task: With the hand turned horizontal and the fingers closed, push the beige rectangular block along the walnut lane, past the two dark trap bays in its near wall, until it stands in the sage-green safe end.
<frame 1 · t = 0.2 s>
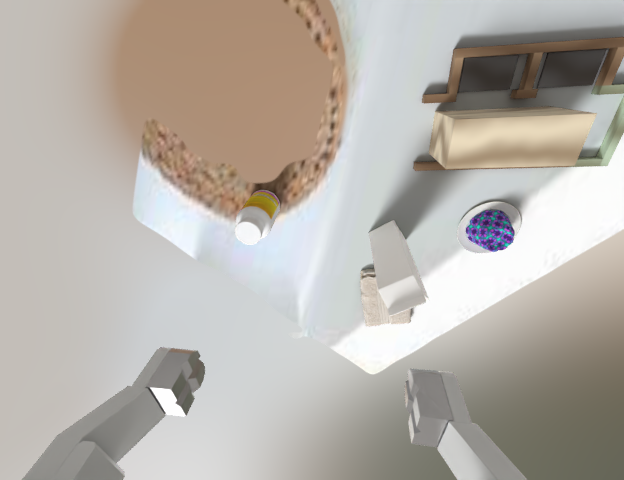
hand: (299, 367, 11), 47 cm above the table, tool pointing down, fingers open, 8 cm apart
supplement bottle: (265, 203, 59), on the table
washcloth: (385, 293, 70), on the table
pudding: (486, 226, 58), on the table
beige rectangular block: (485, 130, 48), resting in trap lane
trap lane: (510, 130, 48), on the table
milk: (387, 235, 61), on the table
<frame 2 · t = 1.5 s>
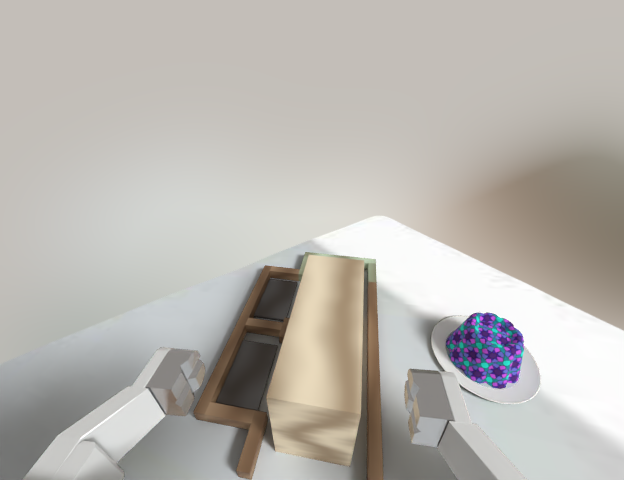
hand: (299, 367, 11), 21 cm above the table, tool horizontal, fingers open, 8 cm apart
pudding: (479, 358, 35), on the table
beige rectangular block: (324, 369, 33), resting in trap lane
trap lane: (328, 340, 36), on the table
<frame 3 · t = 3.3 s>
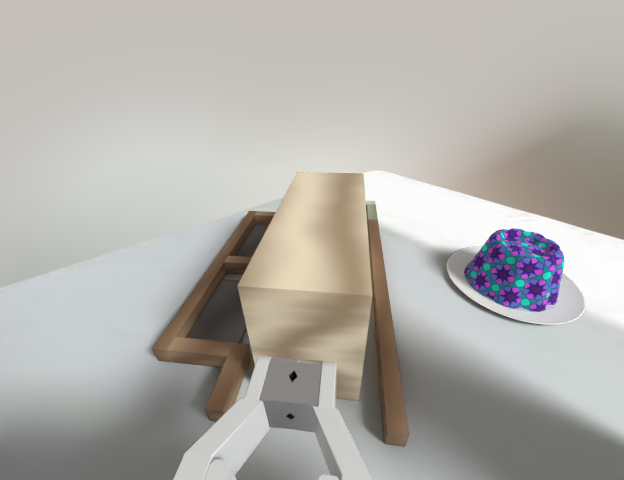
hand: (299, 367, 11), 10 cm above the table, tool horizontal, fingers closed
pudding: (506, 285, 29), on the table
beige rectangular block: (321, 303, 27), resting in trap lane
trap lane: (325, 275, 30), on the table
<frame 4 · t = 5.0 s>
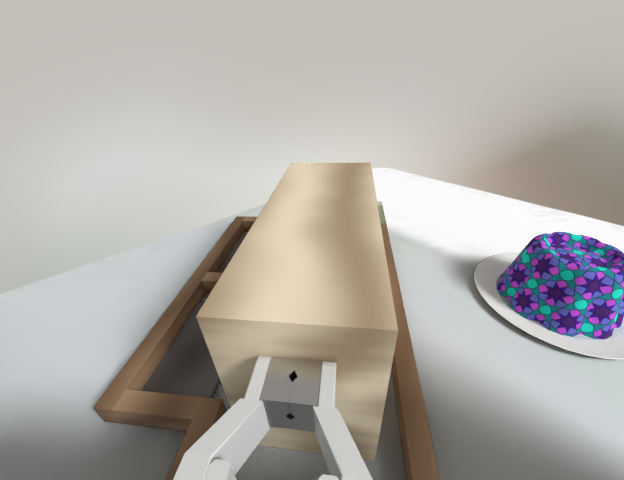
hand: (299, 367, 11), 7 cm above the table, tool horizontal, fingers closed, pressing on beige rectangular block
pudding: (551, 302, 23), on the table
beige rectangular block: (323, 320, 22), resting in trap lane, touching gripper
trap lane: (325, 294, 25), on the table
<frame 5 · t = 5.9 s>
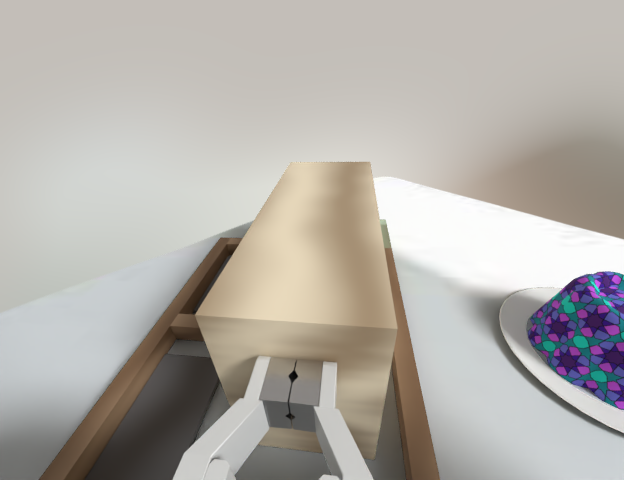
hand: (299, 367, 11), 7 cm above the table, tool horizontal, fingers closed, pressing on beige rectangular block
pudding: (596, 357, 19), on the table
beige rectangular block: (322, 319, 22), resting in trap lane, touching gripper
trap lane: (319, 343, 20), on the table
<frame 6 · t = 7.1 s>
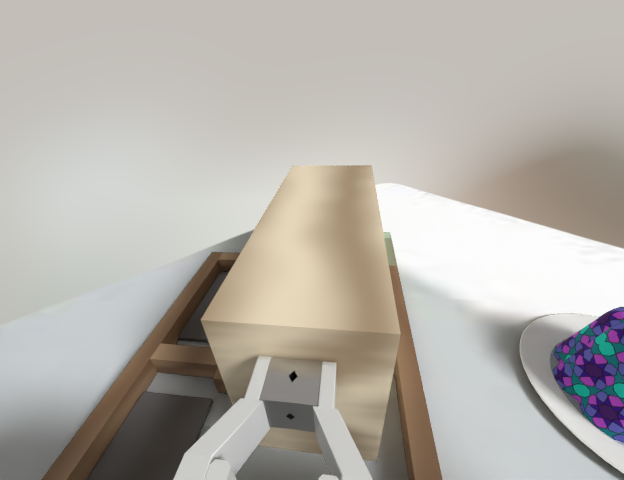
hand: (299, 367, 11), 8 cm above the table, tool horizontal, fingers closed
beige rectangular block: (324, 322, 22), resting in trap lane
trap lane: (317, 379, 18), on the table
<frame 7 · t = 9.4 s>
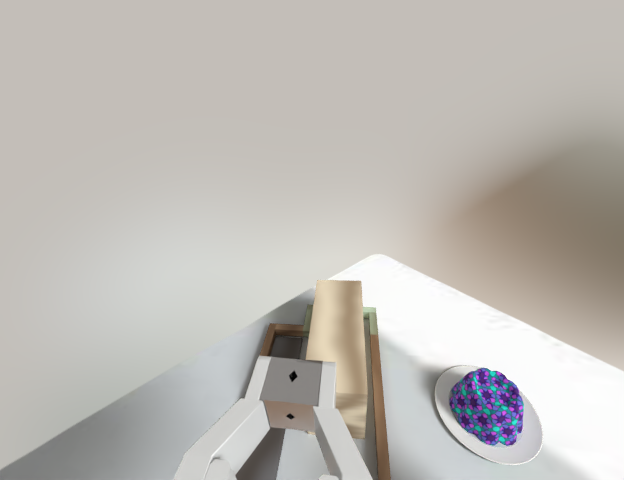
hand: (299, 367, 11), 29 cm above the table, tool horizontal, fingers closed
pudding: (483, 412, 36), on the table
beige rectangular block: (338, 370, 42), resting in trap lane
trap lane: (336, 402, 38), on the table
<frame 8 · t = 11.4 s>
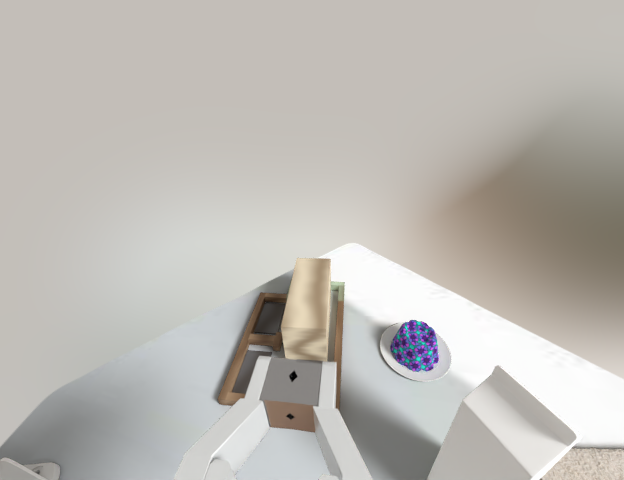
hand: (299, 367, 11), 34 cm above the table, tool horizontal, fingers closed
pudding: (413, 352, 50), on the table
beige rectangular block: (311, 325, 56), resting in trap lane
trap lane: (308, 346, 51), on the table
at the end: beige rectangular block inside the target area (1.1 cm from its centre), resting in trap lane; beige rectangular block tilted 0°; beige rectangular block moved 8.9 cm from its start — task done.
